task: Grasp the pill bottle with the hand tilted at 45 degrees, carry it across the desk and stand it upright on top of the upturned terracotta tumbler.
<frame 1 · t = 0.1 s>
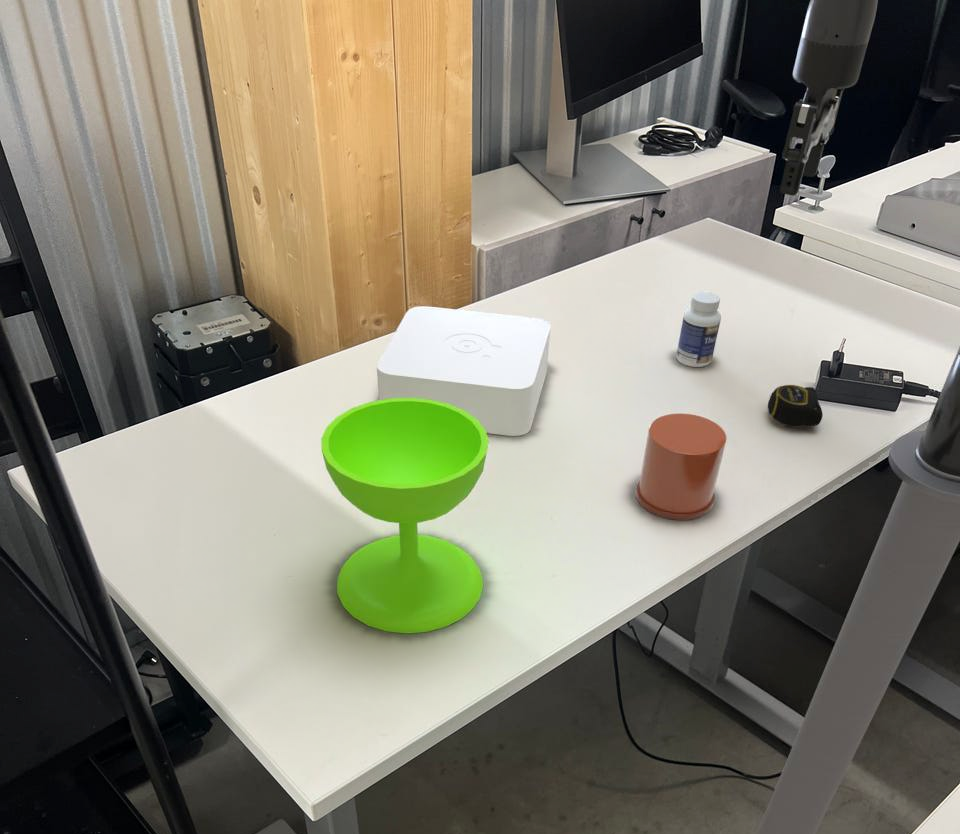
hand: (797, 184, 117), 27 cm above the table, tool pointing down, fingers open, 8 cm apart
wineglass: (410, 584, 101), on the table
tape measure: (794, 419, 128), on the table
pill bottle: (693, 360, 139), on the table
tumbler: (674, 496, 114), on the table
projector: (465, 391, 131), on the table
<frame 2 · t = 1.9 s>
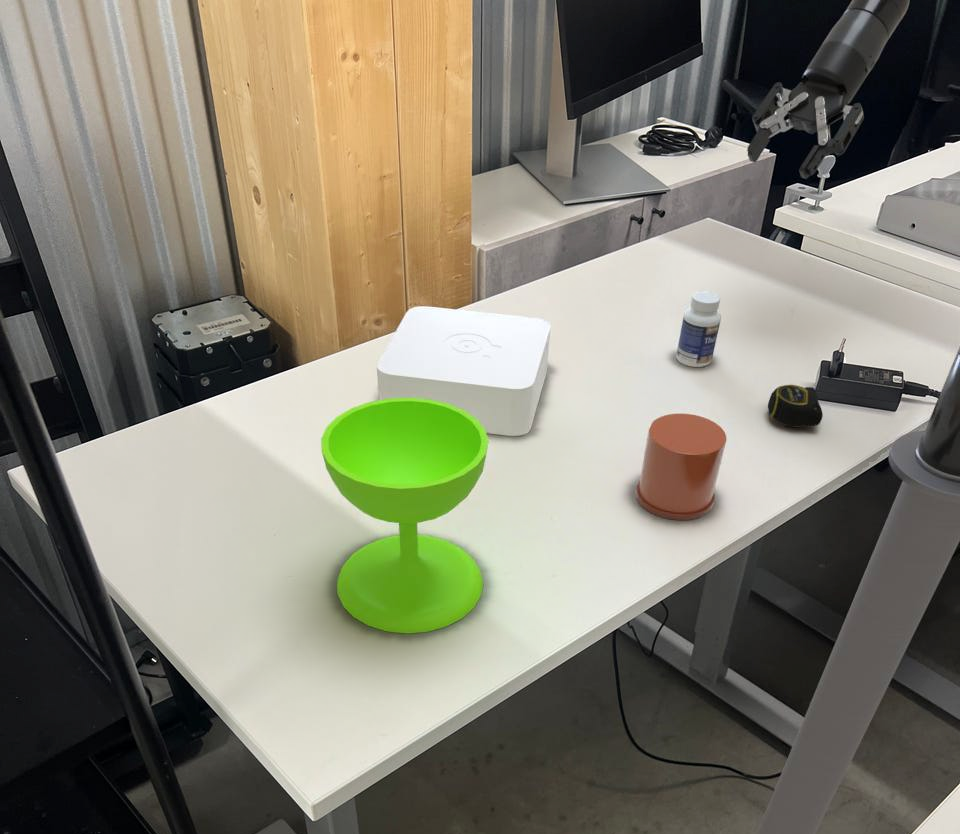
hand: (776, 166, 128), 25 cm above the table, tool tilted 45°, fingers open, 8 cm apart
nothing on the table moved.
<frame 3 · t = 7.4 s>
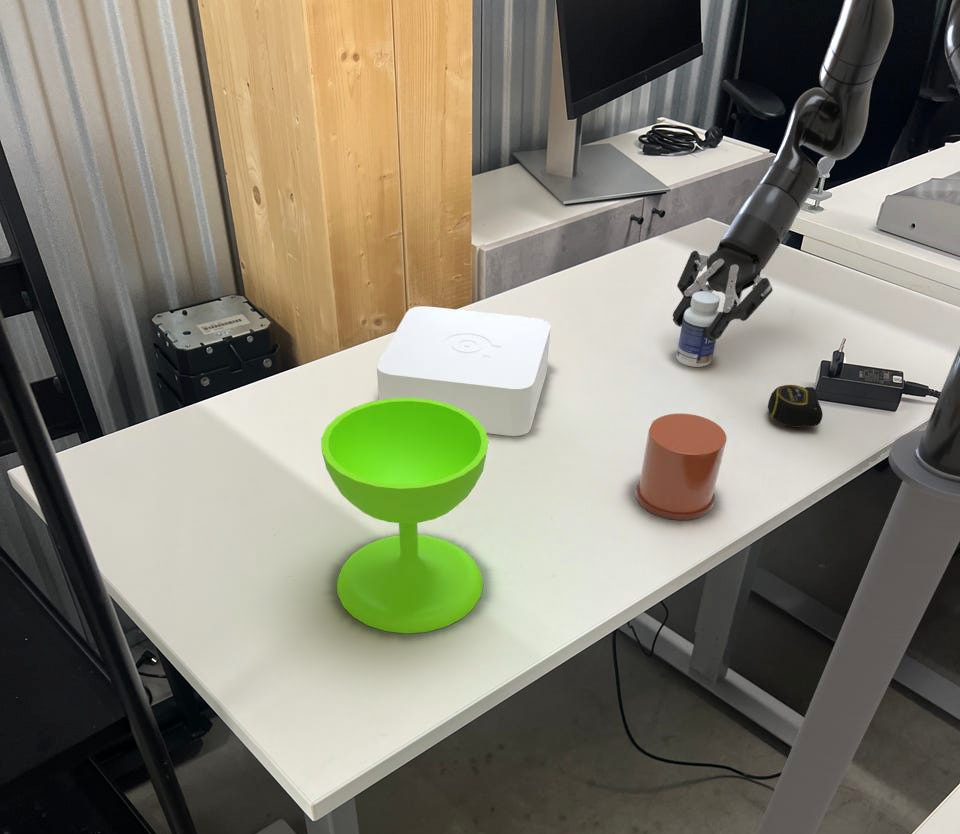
hand: (692, 330, 135), 5 cm above the table, tool tilted 45°, fingers closed on pill bottle, 5 cm apart
pill bottle: (693, 360, 139), on the table, touching gripper
everything else where it was.
when the fingers open (14 cm above the table, at t = 17.7 s): pill bottle stays where it is, resting on tumbler.
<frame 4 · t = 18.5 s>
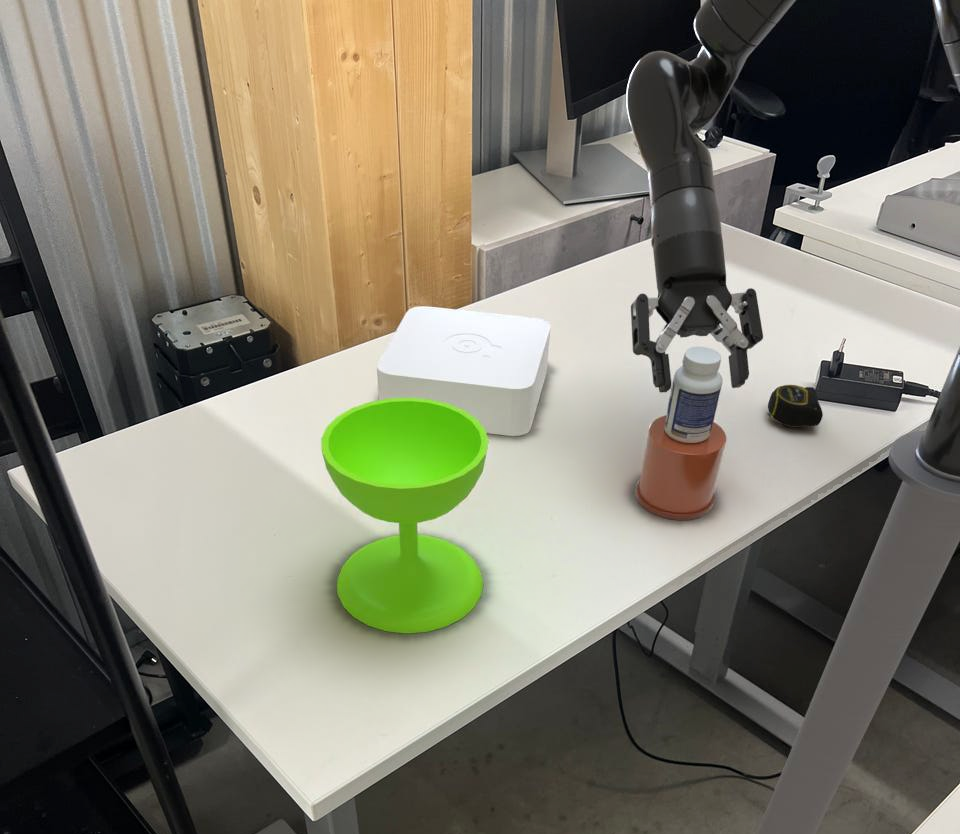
hand: (702, 388, 102), 15 cm above the table, tool tilted 45°, fingers open, 8 cm apart
pill bottle: (686, 433, 107), point 9 cm above the table, touching tumbler
tumbler: (674, 496, 114), on the table, touching pill bottle
everything else where it was.
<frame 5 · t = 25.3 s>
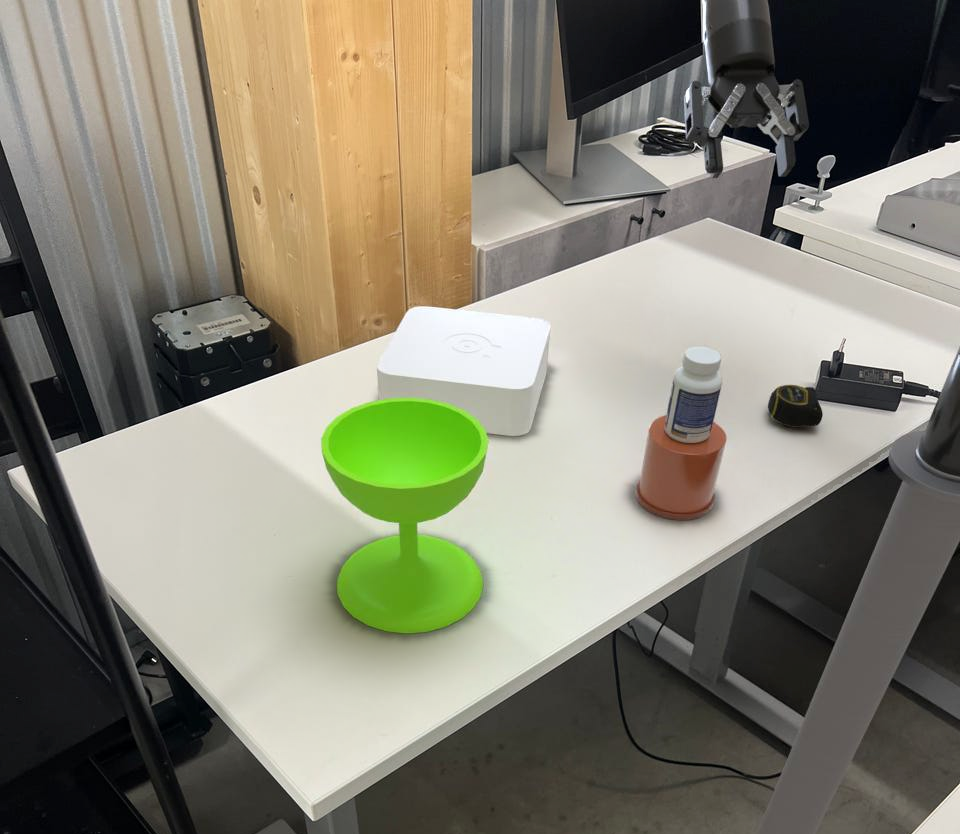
hand: (751, 174, 108), 31 cm above the table, tool tilted 45°, fingers open, 8 cm apart
nothing on the table moved.
at the end: pill bottle 0.2 cm off-centre on the tumbler, point 8.8 cm above the tumbler's base; pill bottle tilted 0°; the gripper is holding nothing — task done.
